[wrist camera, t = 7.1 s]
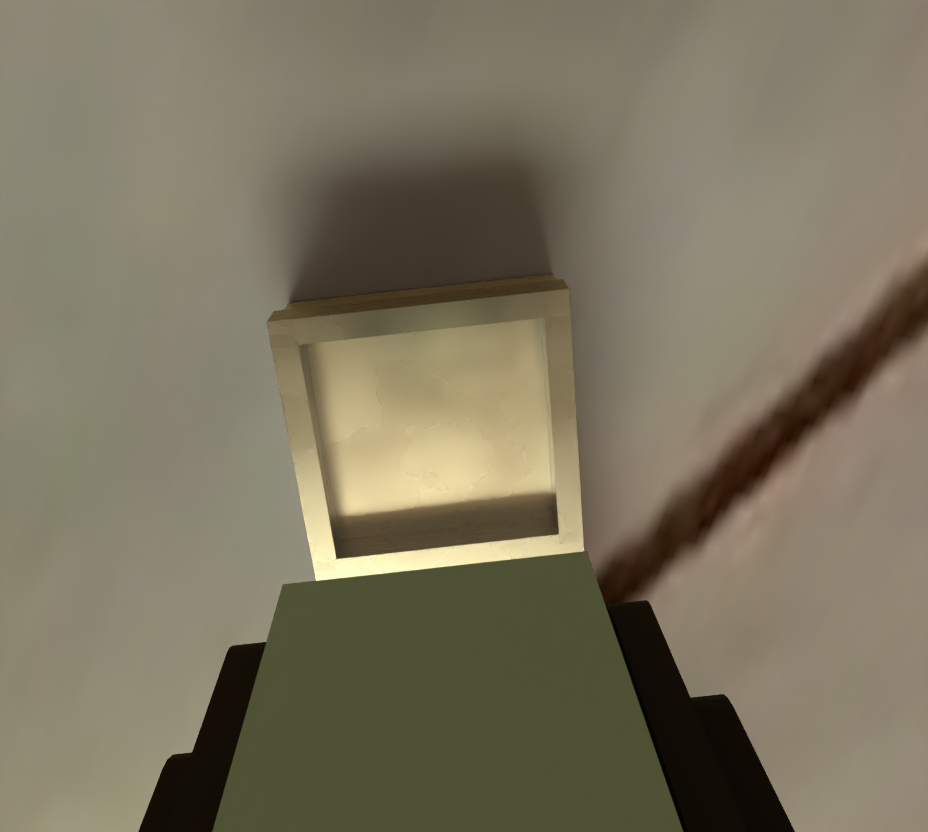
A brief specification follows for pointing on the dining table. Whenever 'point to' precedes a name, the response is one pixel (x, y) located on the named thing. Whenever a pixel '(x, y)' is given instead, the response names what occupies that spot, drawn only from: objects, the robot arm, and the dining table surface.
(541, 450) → the rail
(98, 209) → the dining table surface
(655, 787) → the pale green gift box
